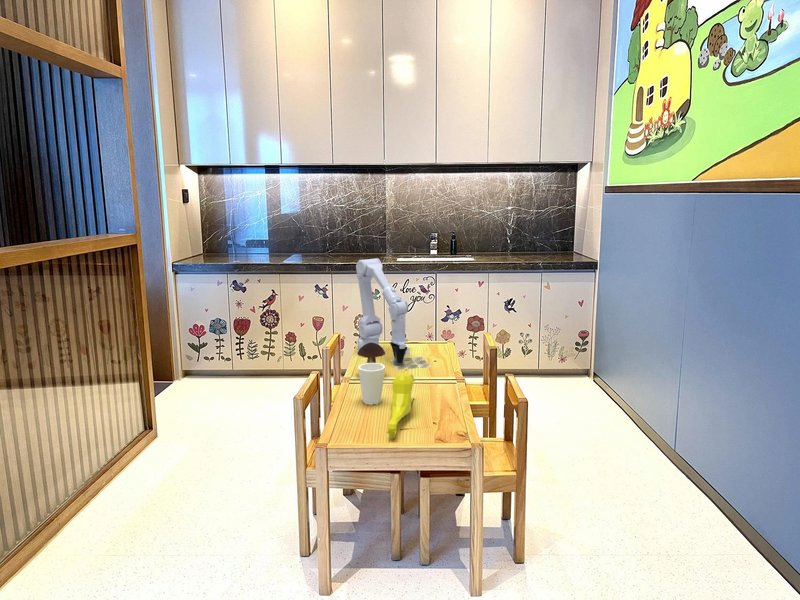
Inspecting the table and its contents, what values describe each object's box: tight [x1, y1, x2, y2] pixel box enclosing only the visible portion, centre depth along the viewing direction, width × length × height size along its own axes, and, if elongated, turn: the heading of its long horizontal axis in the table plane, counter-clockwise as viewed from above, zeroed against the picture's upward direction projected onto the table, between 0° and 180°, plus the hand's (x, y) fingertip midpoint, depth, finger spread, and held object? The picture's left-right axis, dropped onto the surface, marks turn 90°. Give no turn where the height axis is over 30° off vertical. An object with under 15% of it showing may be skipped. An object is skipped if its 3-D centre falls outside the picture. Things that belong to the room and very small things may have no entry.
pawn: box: [393, 352, 404, 366], centre depth 241 cm, size 4×4×7 cm
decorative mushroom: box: [356, 342, 386, 363], centre depth 225 cm, size 11×11×15 cm
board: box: [389, 356, 432, 370], centre depth 243 cm, size 15×15×1 cm
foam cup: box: [358, 362, 386, 406], centre depth 202 cm, size 10×9×13 cm
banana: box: [386, 367, 416, 439], centre depth 188 cm, size 7×20×35 cm
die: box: [404, 344, 411, 357], centre depth 255 cm, size 5×5×5 cm
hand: (398, 360), depth 242 cm, fingers open, 5 cm apart
